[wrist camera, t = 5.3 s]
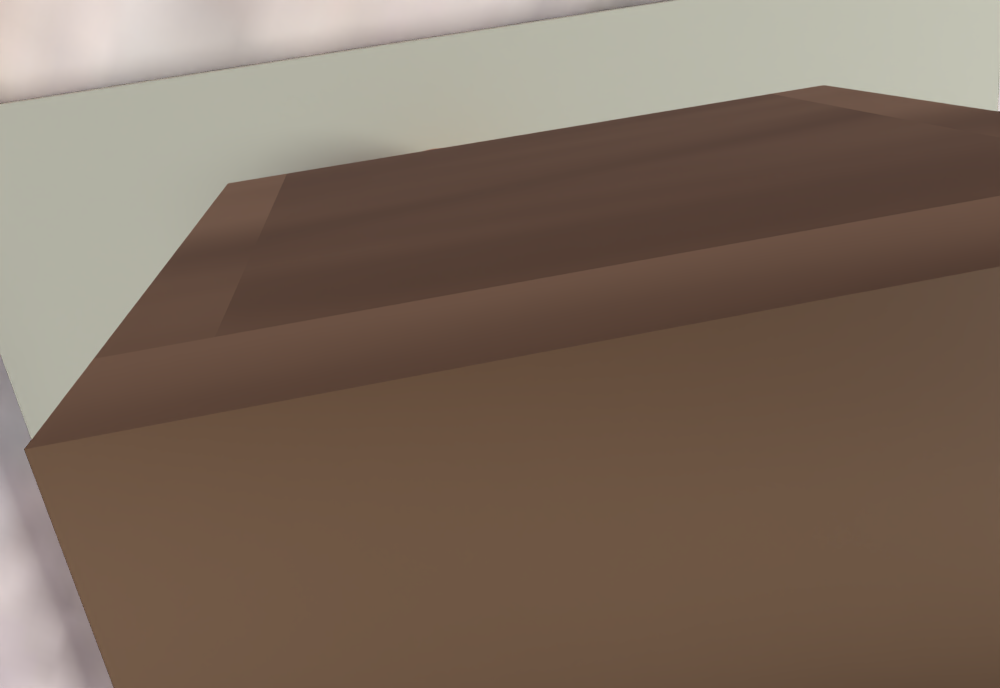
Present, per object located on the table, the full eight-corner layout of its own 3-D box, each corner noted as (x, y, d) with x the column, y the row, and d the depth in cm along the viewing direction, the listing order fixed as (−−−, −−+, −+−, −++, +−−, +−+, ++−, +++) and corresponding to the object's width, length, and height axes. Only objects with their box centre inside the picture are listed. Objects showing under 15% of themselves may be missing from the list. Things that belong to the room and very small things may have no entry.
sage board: (974, -47, 23) (1006, -51, 22) (946, 612, 31) (969, 634, 30) (-63, 112, 21) (-86, 118, 20) (179, 793, 28) (172, 824, 27)
